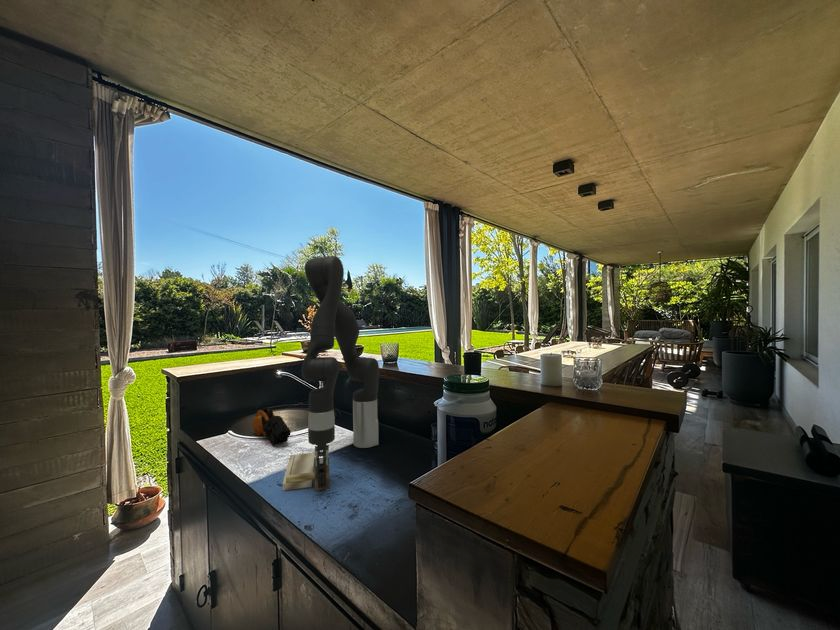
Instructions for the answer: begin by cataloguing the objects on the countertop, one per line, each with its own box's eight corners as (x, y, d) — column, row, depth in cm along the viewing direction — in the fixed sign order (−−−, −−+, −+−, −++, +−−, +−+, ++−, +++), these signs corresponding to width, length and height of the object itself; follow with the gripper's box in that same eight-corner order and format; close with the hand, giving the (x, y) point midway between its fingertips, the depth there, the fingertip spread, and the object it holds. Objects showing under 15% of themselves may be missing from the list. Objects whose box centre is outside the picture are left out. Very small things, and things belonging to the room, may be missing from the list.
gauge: (329, 480, 104) (329, 455, 104) (329, 488, 99) (328, 462, 99) (287, 485, 101) (286, 459, 101) (285, 494, 96) (284, 467, 96)
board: (314, 458, 120) (314, 452, 119) (311, 486, 100) (311, 479, 100) (290, 460, 117) (290, 454, 117) (282, 490, 98) (282, 483, 98)
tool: (269, 466, 129) (275, 433, 125) (247, 430, 143) (252, 399, 139) (290, 459, 135) (296, 427, 131) (267, 425, 149) (272, 395, 145)
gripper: (335, 432, 95) (335, 493, 95) (334, 416, 108) (334, 469, 109) (306, 434, 93) (307, 496, 93) (309, 418, 107) (310, 472, 107)
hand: (322, 481), depth 101 cm, fingers closed on gauge, 5 cm apart
